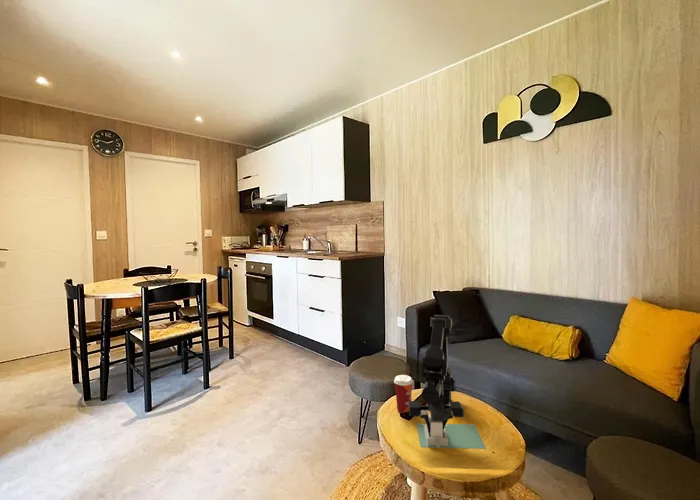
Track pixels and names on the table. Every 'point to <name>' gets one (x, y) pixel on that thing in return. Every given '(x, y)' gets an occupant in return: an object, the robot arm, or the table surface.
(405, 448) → the table surface
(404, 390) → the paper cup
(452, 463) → the table surface
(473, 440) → the board
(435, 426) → the plug
